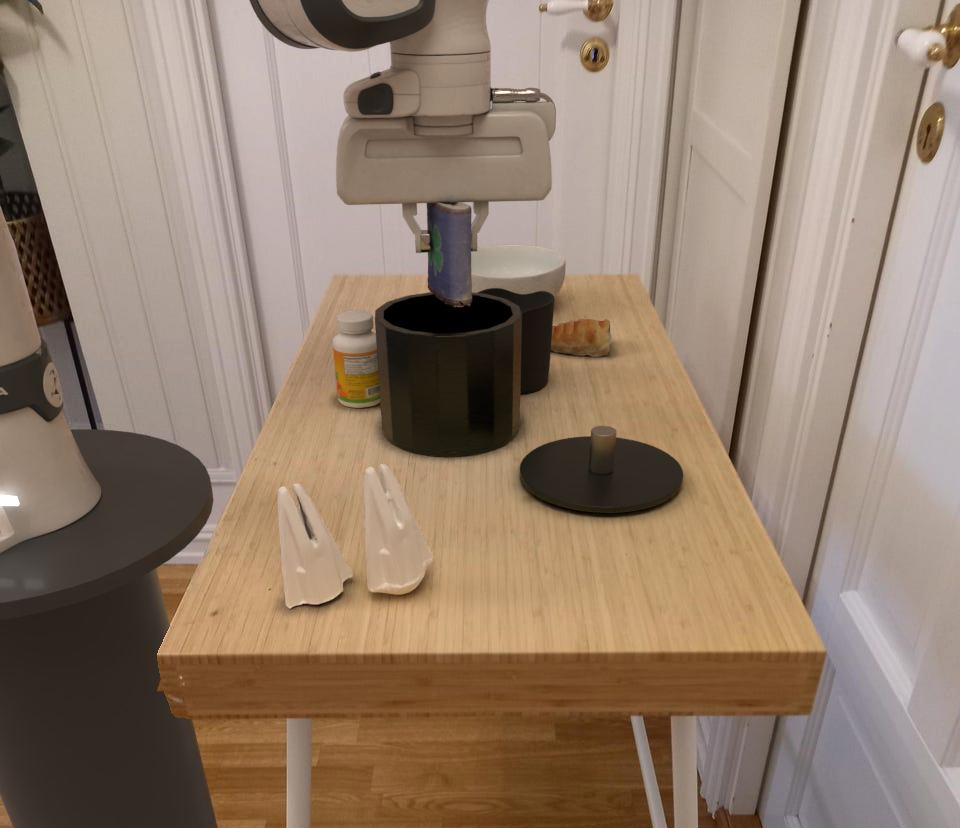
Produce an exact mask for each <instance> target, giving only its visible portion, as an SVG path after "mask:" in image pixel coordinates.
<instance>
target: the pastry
mask: <svg viewBox="0 0 960 828" xmlns="http://www.w3.org/2000/svg"><path fill="white" fill-rule="evenodd" d="M612 339H613V338H612V334H611V321H610V320H609V319H607V318H605V319H602V320H597V319H594V318H593V319H592V318H580V319H578V320H569V321H567V322H560V323H558V324H557V325H553V326H552V340H551V352H553V353H556V354H557V353H561V354H564V355H573V356H580V357H585V356H590V357H594V358H599V357H604V356H608V355H609V353H610V351H611V349H610V347H611V343H612Z"/></svg>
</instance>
